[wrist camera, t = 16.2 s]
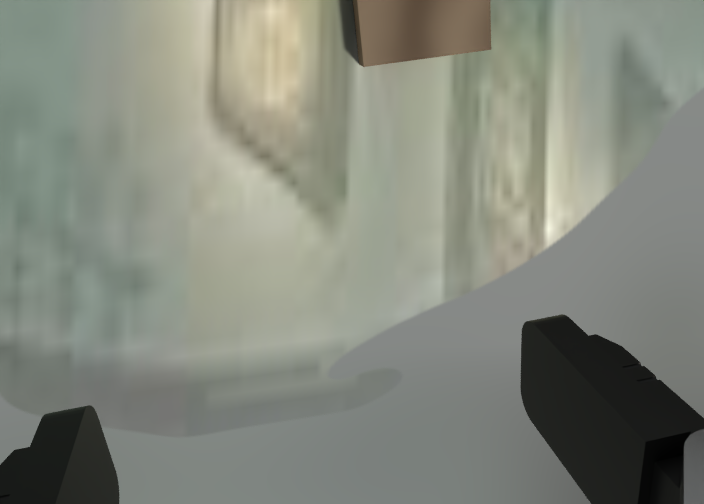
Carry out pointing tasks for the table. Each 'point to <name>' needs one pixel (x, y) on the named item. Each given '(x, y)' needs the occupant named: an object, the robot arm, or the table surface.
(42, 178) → the table surface
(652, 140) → the table surface
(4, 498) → the robot arm
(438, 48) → the board
